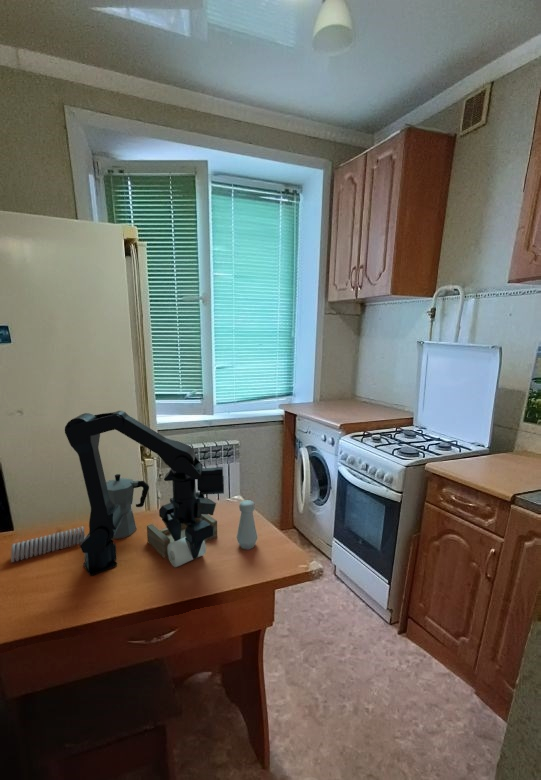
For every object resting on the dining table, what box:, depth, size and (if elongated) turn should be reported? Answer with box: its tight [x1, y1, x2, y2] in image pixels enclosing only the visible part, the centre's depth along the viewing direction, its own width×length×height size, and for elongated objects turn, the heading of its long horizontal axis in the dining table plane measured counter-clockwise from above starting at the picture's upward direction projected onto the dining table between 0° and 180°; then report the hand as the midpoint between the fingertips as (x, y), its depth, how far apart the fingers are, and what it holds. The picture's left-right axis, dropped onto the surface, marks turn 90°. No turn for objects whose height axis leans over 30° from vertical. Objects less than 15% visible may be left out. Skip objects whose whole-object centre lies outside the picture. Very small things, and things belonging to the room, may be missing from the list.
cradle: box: [146, 514, 218, 560], centre depth 106 cm, size 17×11×5 cm, turn 132°
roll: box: [167, 537, 207, 568], centre depth 96 cm, size 8×6×6 cm
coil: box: [10, 525, 86, 563], centre depth 100 cm, size 5×5×18 cm
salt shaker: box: [236, 499, 258, 550], centre depth 102 cm, size 6×6×13 cm
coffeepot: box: [106, 473, 150, 540], centre depth 110 cm, size 15×9×18 cm, turn 98°
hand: (186, 550), depth 96 cm, fingers open, 9 cm apart
